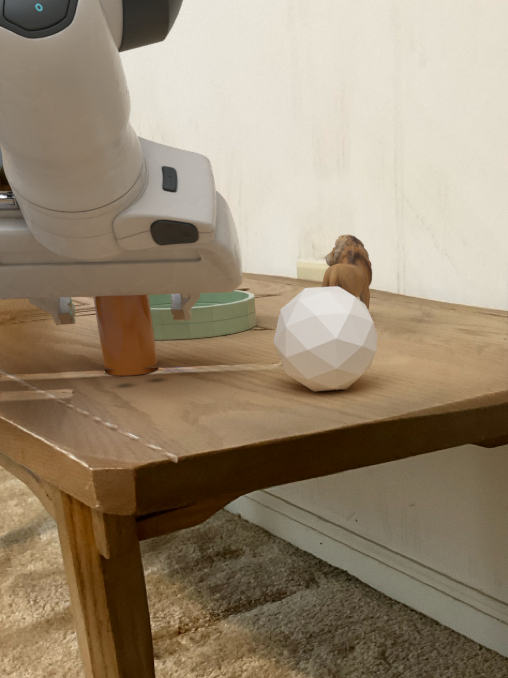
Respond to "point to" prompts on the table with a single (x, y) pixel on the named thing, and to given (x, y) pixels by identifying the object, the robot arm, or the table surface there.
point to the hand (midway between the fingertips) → (125, 316)
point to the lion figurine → (349, 268)
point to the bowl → (204, 316)
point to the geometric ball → (325, 338)
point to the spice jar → (126, 334)
